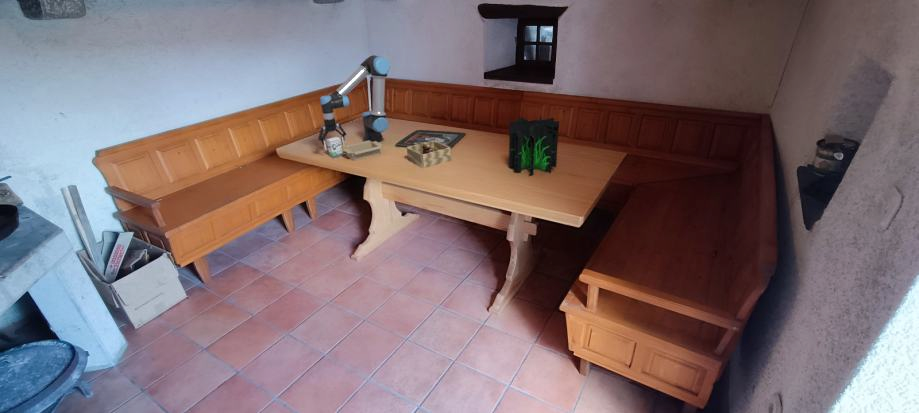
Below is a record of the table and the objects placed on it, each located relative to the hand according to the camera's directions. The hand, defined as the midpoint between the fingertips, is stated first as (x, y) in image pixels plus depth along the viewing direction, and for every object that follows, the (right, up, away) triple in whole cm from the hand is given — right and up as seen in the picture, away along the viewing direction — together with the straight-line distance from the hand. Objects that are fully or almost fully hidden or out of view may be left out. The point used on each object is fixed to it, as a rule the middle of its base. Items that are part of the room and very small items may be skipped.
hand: (334, 147), depth 308 cm
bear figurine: (+70, -10, -12) cm, 72 cm away
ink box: (0, -5, +3) cm, 6 cm away
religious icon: (+70, +8, +23) cm, 74 cm away
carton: (+21, -6, 0) cm, 22 cm away
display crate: (+70, -11, -15) cm, 73 cm away
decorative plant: (+138, -18, -35) cm, 144 cm away
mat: (0, -5, +3) cm, 6 cm away
